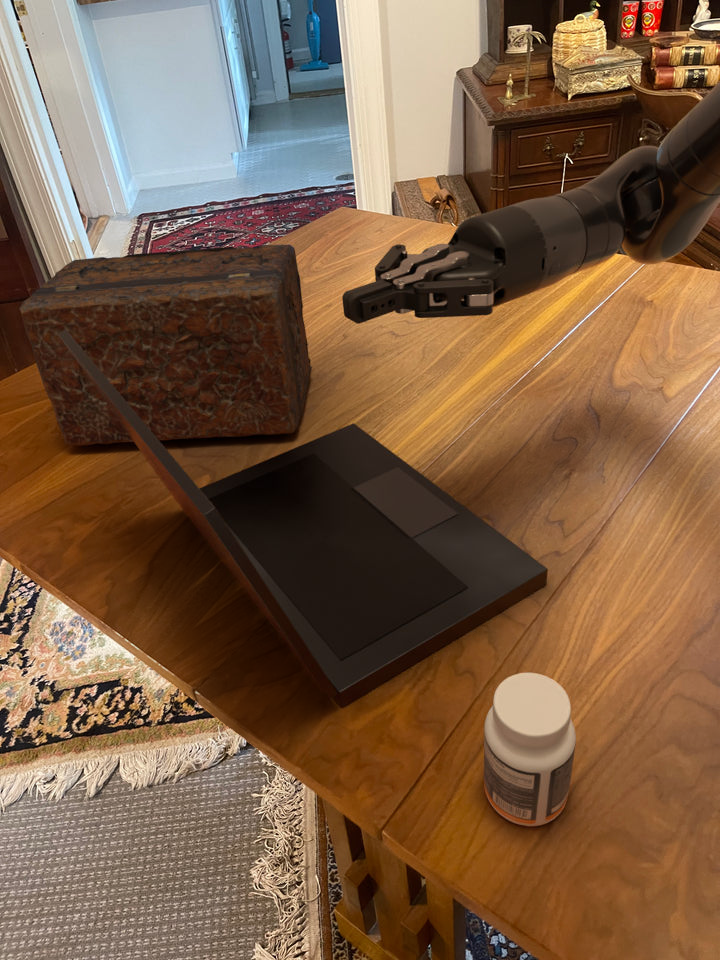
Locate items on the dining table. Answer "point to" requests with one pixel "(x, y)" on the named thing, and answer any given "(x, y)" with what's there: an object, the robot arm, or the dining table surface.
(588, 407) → the dining table surface
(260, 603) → the laptop screen
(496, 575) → the laptop
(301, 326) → the decorative box
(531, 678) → the pill bottle
